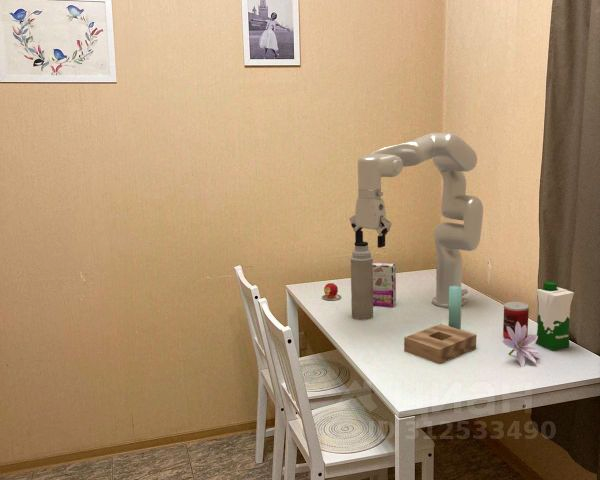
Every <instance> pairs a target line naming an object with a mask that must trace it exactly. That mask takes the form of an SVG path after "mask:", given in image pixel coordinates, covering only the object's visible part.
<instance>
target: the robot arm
mask: <svg viewBox="0 0 600 480" xmlns="http://www.w3.org/2000/svg"><path fill="white" fill-rule="evenodd" d="M430 159H432V162H433V164H434V166H435V168H436V169H437V170H438V172H439V173H440V175H441V178H442V181H443V182H442V193H441V194H442V195H441V201H440V202H441V204H440V211H441V215H442V217H444V218H445V219H449V220H455V221H463V224H462V223H456V222H448V221H447V222H446V221H445V222H441V223H439V224H437V226H436V227H435V228H434V232H433V238H434V244H435V250H436V253H435V254H436V265H435V266H436V272H435V273H436V276H435V277H436V278H435V281H436V283H435V296H434V297H432V299H431V303H432V304H433V305H435V306H438V307H441V308H449V287H450V286H460V287H461V288H462V284H463V283H462V281H463V280H462V278H463V277H462V275H463V272H462V271H463V270H462V269H463V258H462V254H461V252H460V250H461V251H467V252H471V251H472V252H473V251H475V250H476V249H477V248H478V246H479V244H480V241H481V235H482V226H483V216H484V206H483V201H481V199H480V198H479V197H478V196H474V195H468V194H467V179H466V175H465V173H464V172H472V170H474V168H476V165H477V163H478V156H477V153H476V151H475V150H474V149H473V147H472V146H471V145H469V144H468V143H467V142H466V141H465V140H463V138H461V137H460V136H459V135H457V134H455V133H452V132H430V133H427V134H424V135H422V136H420V137H417V138H415V139H412V140H410V141H406V142H402V143H399V144H395V145H390V146H386V147H382V148H378V149H377V150H374V151H372V152H369V153H368V154H367V155H365V156H361V157H359V158H358V160H357V198H356V203H355V214H354V215H352V216H351V217H349V219H348V220H349V221H350V224H351V225H350V226H351V227H352V228H353V232H354V238H355V242H354V243H356V244H359V243H362V242H364V231H363V229H368V230H375V231H376V233H378V235H377V248H379V249H381V248H384V247H386V235H388V232H390V229H391V227H392V224H393V223H392V222H391V221H390V220H388V219H387V215H386V214H387V213H386V207H385V202H384V198H382V196H384V192H383V191H382V178H394V177H397V176H399V175H400V174H401V172H402V170H403V169H404V168H405V167H414V166H417V165H420V164H422V163H424V162H426V161H429V160H430ZM468 293H469V291H468V289H467V288H464V289H461V307H462V306H464V305H465V304H466V299H465V298H464V297H463V296H465V295H467V294H468Z"/></svg>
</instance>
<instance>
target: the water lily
mask: <svg viewBox="0 0 600 480" xmlns="http://www.w3.org/2000/svg"><path fill="white" fill-rule="evenodd" d="M507 331H508V334H509V336H510V338H511V339H512V341H511V340H510V339H506V338H504V339H502V343H503V344H504V345H505V346H507V347H508V348H511V349H512V350H510V351H509V352H508V356H510V355H512V354H513V353H514V352H516V357H517V361H518V364H519V365H520V366H521V368H522V367H524V366H526V365H525V364H526V359H525V357H526V358H527V359H528V360H529V361H531V362H533V363H535V364H537V360H536V358H537V359H542V357H543V356H542V355H541V354H540V353H539V351H540V350H538V349H537V348H535V347H531V345H533V344H536V340H537V338H538V336H537V334H533V335H529V336H527V338H525V335H526V331H527V328H526V325H524V326H523V327H522V328H521V326H520V324H519V322H518V321H517V323H516V326H515V334H514V332H513V330H512V329H511V328H510V327H508V326H507ZM524 338H525V339H524ZM523 339H524V340H523Z"/></svg>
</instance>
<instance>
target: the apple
mask: <svg viewBox="0 0 600 480" xmlns="http://www.w3.org/2000/svg"><path fill="white" fill-rule="evenodd" d="M338 288H339V287H338V285H337V284H335V283H334V282H333V283H332V282H331V283H330V282H329V283H326V284H325V286H324V289H323V290H324V295H322V296H321V299H323V300H325V301H326V300H327V301H337V300H340V299H341V298H342V295H340V294H338V292H339V289H338Z"/></svg>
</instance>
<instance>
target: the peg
mask: <svg viewBox="0 0 600 480" xmlns="http://www.w3.org/2000/svg"><path fill="white" fill-rule="evenodd" d="M461 290H462V286H461V287H460V286H450V287H449V307H448V324H447V326H450V327H453V328H456V329H460V330H462V327H461V325H462V306H461Z"/></svg>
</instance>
